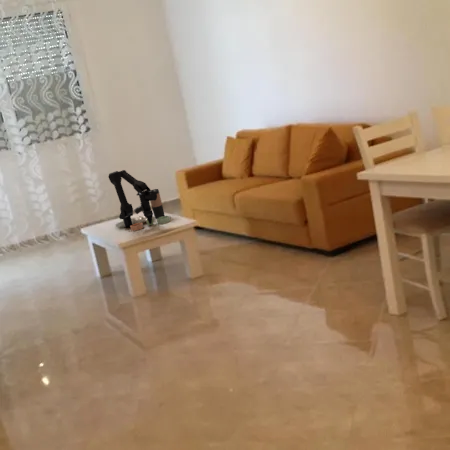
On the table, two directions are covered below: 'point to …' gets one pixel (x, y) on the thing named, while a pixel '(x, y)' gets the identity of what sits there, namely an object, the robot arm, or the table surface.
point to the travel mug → (157, 206)
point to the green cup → (163, 219)
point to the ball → (149, 223)
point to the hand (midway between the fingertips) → (150, 222)
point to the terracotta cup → (136, 226)
